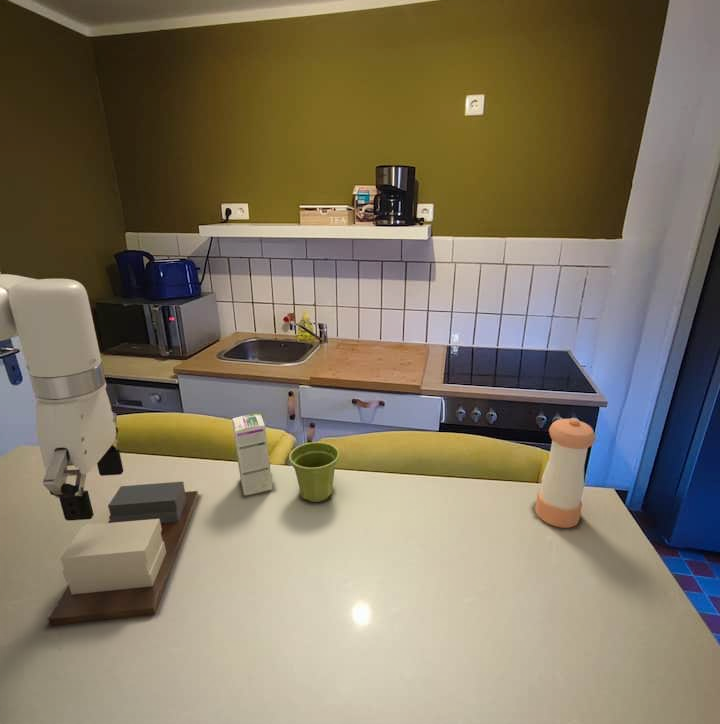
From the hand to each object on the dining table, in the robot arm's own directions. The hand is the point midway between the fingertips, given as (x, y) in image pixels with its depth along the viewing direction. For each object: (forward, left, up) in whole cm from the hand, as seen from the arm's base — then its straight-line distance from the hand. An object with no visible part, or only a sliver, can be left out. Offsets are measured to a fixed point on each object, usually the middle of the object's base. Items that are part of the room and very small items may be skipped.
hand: (97, 494), depth 59 cm
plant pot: (+30, +17, -15) cm, 38 cm away
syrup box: (+18, +21, -15) cm, 32 cm away
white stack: (0, 0, -14) cm, 14 cm away
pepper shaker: (+73, +5, -15) cm, 75 cm away
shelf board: (+1, +6, -15) cm, 16 cm away
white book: (+1, 0, -10) cm, 10 cm away
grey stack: (+1, +13, -14) cm, 19 cm away
